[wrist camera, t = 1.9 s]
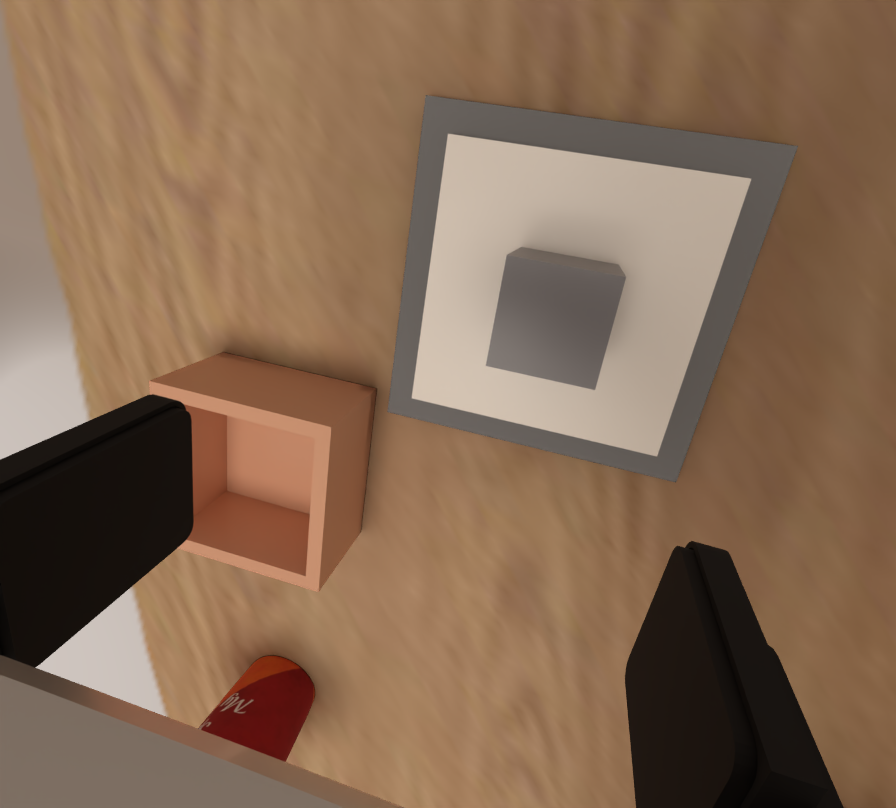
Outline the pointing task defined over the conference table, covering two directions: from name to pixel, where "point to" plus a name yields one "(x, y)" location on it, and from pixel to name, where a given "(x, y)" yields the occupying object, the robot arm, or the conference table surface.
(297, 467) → the open box
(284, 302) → the conference table surface
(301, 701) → the paper cup
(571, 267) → the cover
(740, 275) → the mat
